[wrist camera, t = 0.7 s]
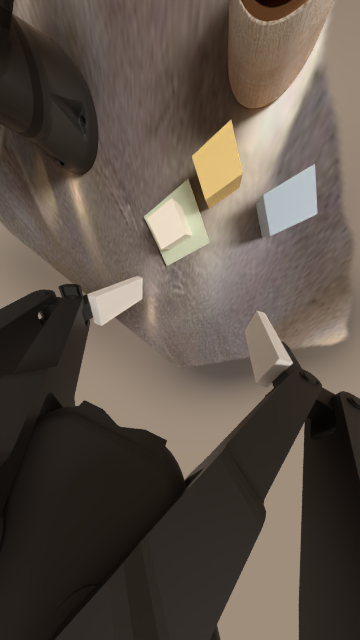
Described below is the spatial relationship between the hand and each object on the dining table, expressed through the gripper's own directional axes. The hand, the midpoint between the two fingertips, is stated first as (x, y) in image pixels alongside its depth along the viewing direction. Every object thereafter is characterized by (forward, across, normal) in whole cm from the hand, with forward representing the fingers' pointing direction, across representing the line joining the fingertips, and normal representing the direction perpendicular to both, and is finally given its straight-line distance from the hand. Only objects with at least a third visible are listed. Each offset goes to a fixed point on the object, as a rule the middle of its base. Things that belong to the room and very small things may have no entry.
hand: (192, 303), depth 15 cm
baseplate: (+22, -10, +7) cm, 26 cm away
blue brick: (+22, +9, +13) cm, 27 cm away
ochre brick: (+22, -4, +16) cm, 28 cm away
